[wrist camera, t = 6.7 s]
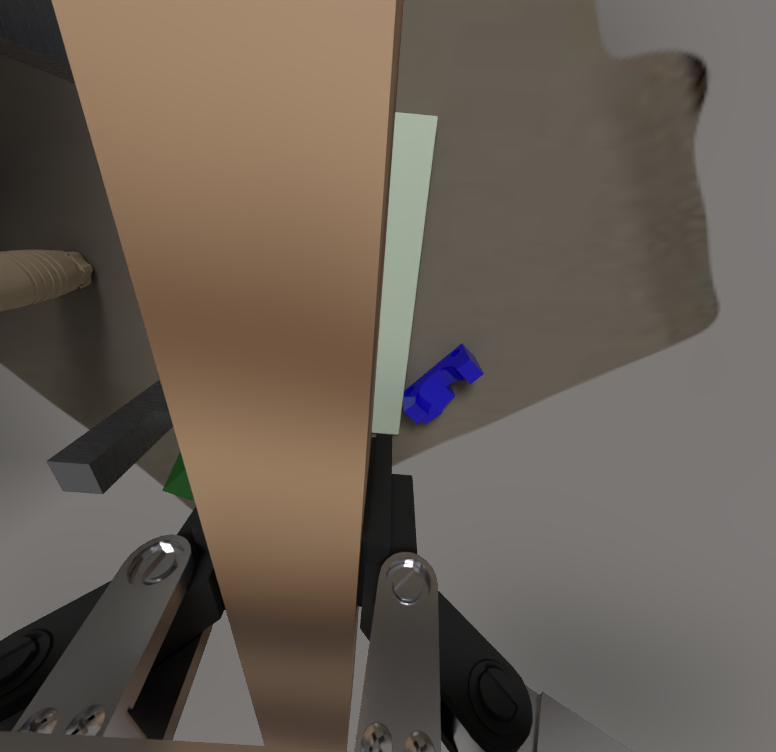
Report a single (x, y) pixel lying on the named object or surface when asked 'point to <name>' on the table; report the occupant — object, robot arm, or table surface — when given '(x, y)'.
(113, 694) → the robot arm
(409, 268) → the board
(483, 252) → the table surface
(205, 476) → the rail
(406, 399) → the cable holder
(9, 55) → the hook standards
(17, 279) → the handle
